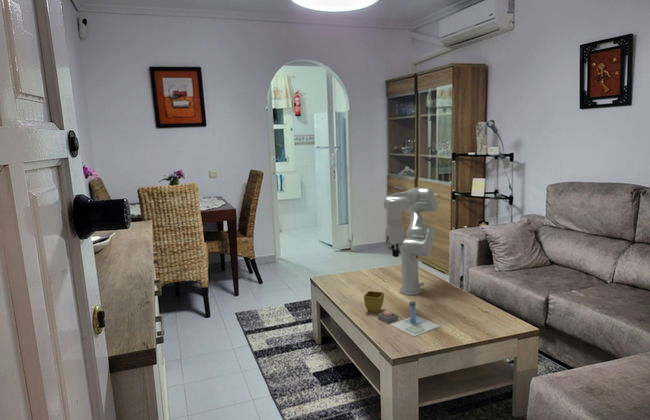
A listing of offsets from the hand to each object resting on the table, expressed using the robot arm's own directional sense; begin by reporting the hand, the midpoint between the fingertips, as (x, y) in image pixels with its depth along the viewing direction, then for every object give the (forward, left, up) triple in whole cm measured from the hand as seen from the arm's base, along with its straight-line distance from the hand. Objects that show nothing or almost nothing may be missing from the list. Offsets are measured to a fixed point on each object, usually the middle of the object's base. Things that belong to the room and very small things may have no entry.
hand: (395, 256), depth 232 cm
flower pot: (+14, -2, -27) cm, 31 cm away
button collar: (+16, +11, -27) cm, 33 cm away
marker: (+10, +22, -26) cm, 36 cm away
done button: (+16, +11, -26) cm, 32 cm away
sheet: (+12, +25, -27) cm, 39 cm away
